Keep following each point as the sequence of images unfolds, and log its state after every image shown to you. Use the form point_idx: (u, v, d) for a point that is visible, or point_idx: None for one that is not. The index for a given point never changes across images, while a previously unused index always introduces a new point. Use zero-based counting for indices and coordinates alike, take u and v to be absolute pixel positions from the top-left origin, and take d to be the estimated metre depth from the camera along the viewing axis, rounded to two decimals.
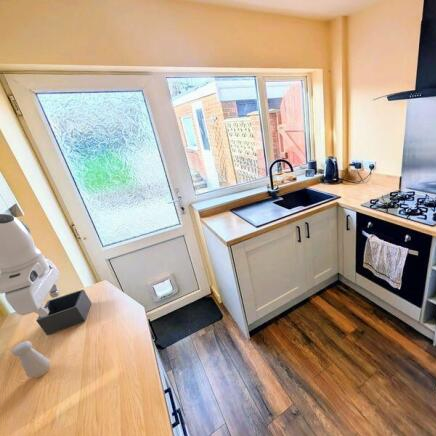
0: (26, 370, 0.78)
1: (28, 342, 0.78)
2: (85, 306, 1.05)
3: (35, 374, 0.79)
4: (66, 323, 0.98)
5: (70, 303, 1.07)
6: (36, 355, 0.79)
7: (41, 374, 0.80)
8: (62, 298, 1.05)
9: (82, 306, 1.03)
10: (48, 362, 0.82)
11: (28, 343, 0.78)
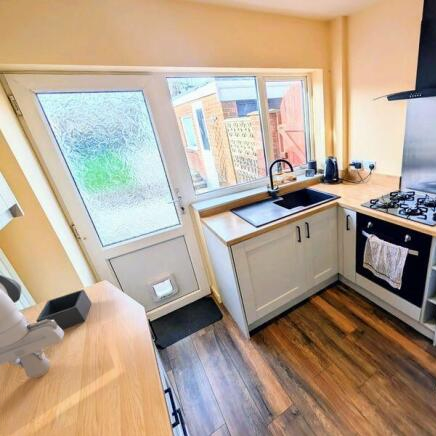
0: (26, 370, 0.78)
1: None
2: (85, 306, 1.05)
3: (35, 374, 0.79)
4: (66, 323, 0.98)
5: (70, 303, 1.07)
6: (36, 355, 0.79)
7: (41, 374, 0.80)
8: (62, 298, 1.05)
9: (82, 306, 1.03)
10: (48, 362, 0.82)
11: None
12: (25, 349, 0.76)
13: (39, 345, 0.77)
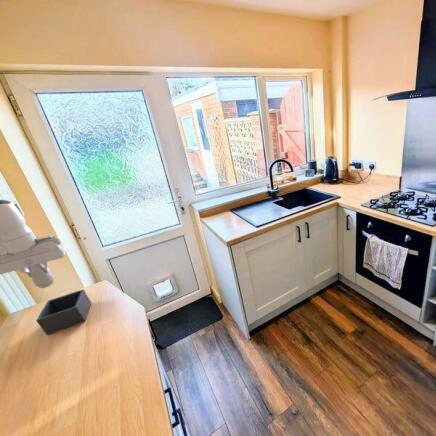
0: (34, 279, 0.91)
1: None
2: (85, 306, 1.05)
3: (41, 283, 0.92)
4: (66, 323, 0.98)
5: (70, 303, 1.07)
6: (42, 267, 0.93)
7: (46, 285, 0.94)
8: (62, 298, 1.05)
9: (82, 306, 1.03)
10: (52, 276, 0.96)
11: None
12: (33, 259, 0.90)
13: (45, 257, 0.91)
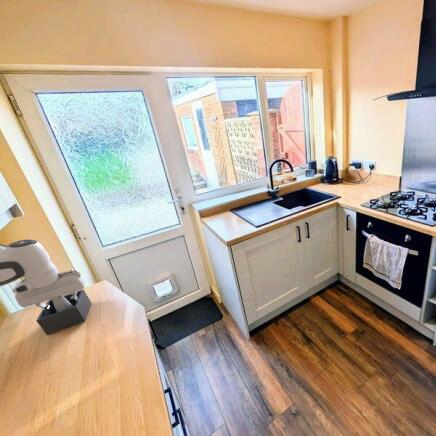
0: None
1: None
2: (85, 306, 1.05)
3: None
4: (66, 323, 0.98)
5: None
6: (66, 301, 1.01)
7: None
8: None
9: (82, 306, 1.03)
10: None
11: None
12: (56, 292, 0.97)
13: (67, 290, 0.99)
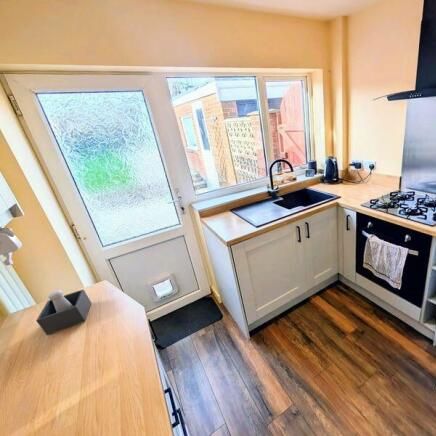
0: None
1: (60, 290, 1.00)
2: (85, 306, 1.05)
3: None
4: (66, 323, 0.98)
5: None
6: (66, 301, 1.01)
7: None
8: None
9: (82, 306, 1.03)
10: None
11: (60, 291, 0.99)
12: None
13: None
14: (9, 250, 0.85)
